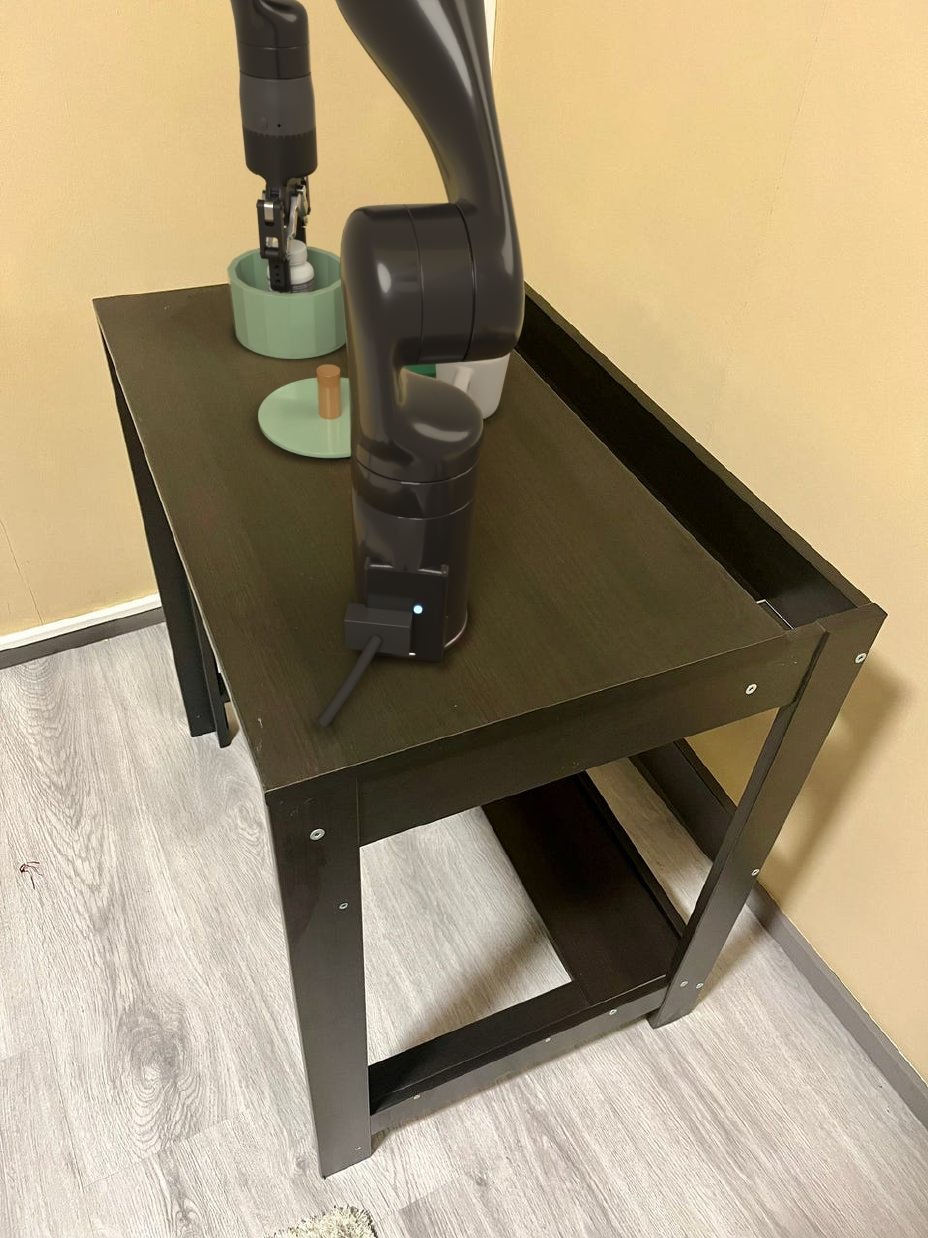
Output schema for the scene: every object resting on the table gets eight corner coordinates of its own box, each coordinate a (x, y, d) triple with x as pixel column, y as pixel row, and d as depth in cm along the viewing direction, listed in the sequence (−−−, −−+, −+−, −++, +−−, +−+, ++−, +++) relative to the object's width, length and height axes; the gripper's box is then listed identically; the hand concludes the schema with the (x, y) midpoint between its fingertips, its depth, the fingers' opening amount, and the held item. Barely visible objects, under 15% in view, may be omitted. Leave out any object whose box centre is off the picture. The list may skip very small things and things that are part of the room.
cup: (492, 449, 94) (499, 380, 88) (417, 436, 95) (420, 367, 89) (509, 396, 101) (517, 330, 96) (440, 385, 102) (443, 318, 97)
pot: (340, 364, 104) (338, 302, 99) (221, 352, 104) (213, 289, 99) (359, 310, 114) (358, 250, 108) (251, 299, 114) (245, 239, 109)
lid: (390, 470, 90) (391, 417, 86) (242, 454, 90) (236, 401, 86) (409, 393, 101) (410, 342, 96) (277, 379, 101) (272, 328, 96)
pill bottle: (318, 317, 111) (314, 237, 104) (315, 339, 107) (310, 257, 100) (274, 315, 110) (267, 234, 103) (268, 336, 106) (261, 254, 99)
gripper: (300, 145, 88) (309, 305, 99) (328, 103, 98) (333, 252, 109) (223, 138, 88) (241, 298, 99) (259, 96, 98) (271, 246, 109)
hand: (289, 274), depth 104 cm, fingers open, 8 cm apart
